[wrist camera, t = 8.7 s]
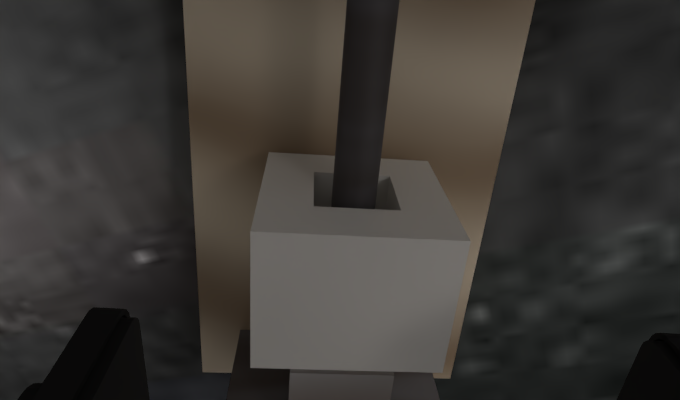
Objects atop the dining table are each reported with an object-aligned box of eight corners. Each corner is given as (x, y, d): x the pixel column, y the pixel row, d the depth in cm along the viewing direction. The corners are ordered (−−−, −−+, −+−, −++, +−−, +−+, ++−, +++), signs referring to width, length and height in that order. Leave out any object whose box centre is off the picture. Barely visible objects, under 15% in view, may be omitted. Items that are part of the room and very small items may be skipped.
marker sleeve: (268, 151, 16) (250, 231, 11) (427, 160, 16) (471, 241, 12) (267, 261, 18) (250, 367, 13) (410, 267, 18) (442, 372, 13)
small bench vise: (182, -266, 13) (73, -444, 7) (563, -223, 14) (747, -353, 8) (209, 346, 22) (170, 492, 16) (441, 352, 22) (486, 494, 16)
